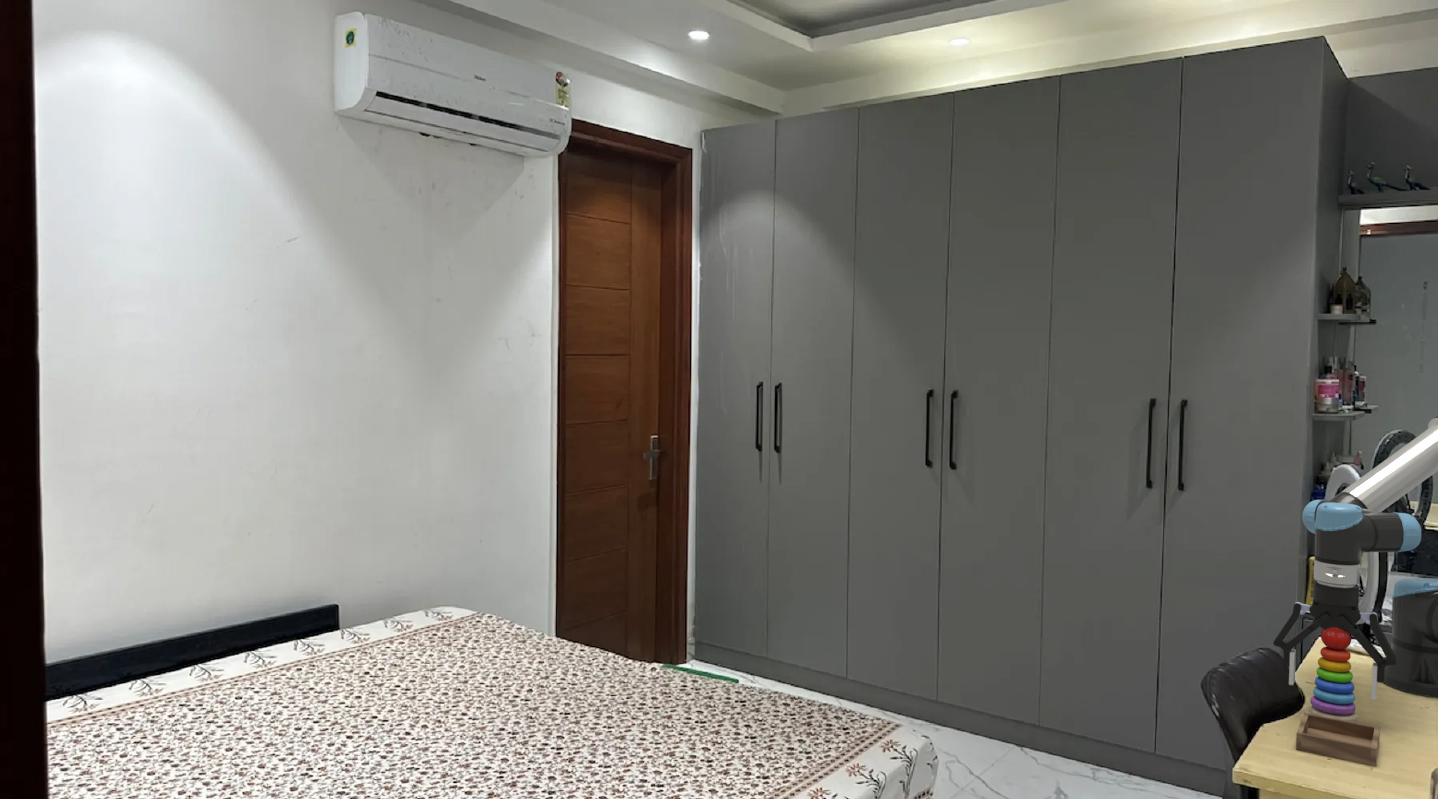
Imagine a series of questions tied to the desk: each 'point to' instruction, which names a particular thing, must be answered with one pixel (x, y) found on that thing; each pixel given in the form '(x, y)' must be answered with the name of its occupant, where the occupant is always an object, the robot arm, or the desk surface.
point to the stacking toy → (1334, 678)
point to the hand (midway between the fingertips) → (1331, 690)
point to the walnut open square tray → (1338, 739)
